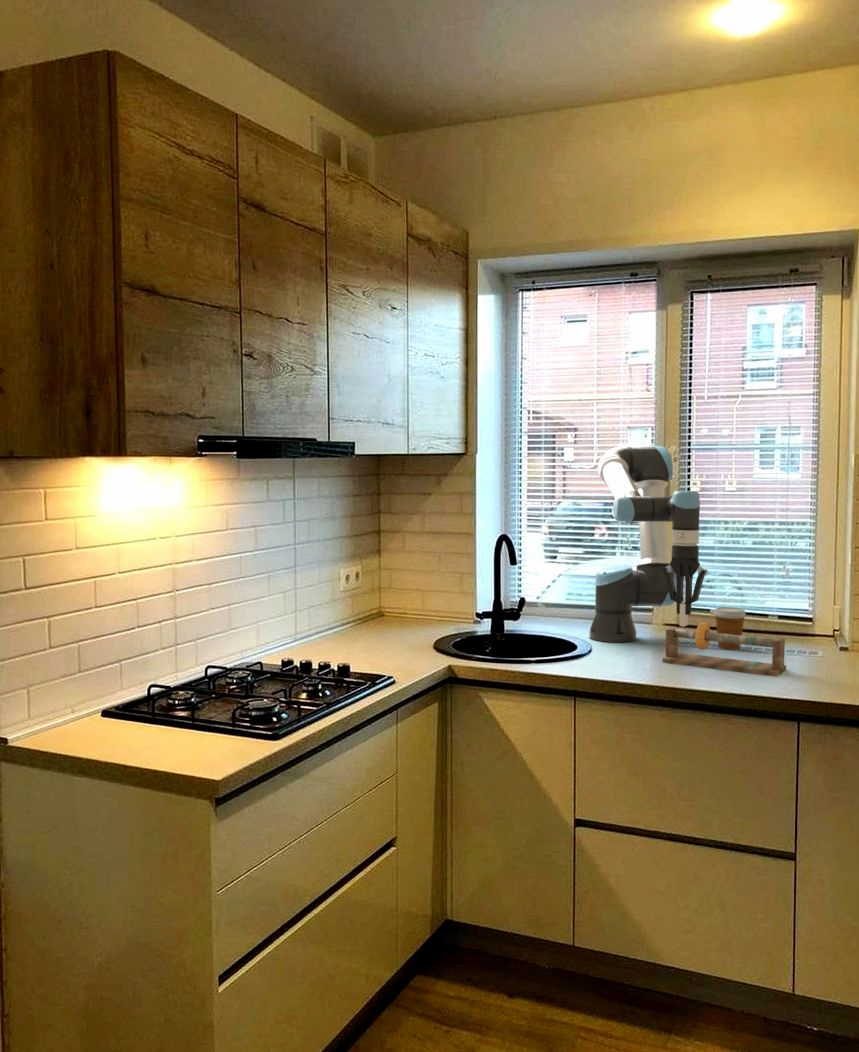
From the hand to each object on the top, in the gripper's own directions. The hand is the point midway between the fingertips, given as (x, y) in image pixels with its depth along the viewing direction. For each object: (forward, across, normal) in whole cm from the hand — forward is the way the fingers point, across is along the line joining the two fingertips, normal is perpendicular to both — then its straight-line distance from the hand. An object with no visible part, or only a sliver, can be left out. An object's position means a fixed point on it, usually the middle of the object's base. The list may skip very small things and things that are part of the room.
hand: (683, 625), depth 272 cm
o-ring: (+6, +6, 0) cm, 9 cm away
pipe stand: (+11, +12, 0) cm, 16 cm away
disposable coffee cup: (+11, +6, +27) cm, 30 cm away
